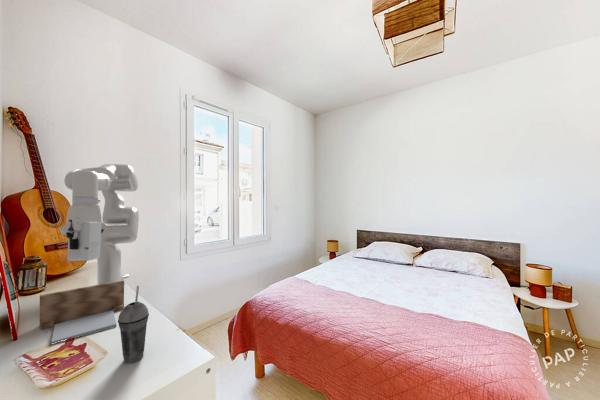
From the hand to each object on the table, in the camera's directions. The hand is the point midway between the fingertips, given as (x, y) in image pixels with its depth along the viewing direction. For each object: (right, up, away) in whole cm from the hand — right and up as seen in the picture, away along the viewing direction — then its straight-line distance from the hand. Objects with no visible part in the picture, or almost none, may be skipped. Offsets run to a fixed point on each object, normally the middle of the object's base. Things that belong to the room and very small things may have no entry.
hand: (85, 247), depth 94 cm
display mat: (+9, -26, -9) cm, 29 cm away
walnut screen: (+1, -26, -1) cm, 26 cm away
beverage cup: (+37, -26, -26) cm, 53 cm away
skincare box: (0, -5, 0) cm, 5 cm away
